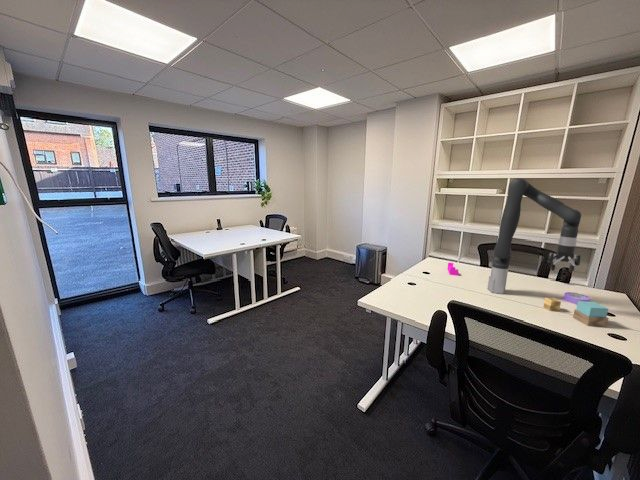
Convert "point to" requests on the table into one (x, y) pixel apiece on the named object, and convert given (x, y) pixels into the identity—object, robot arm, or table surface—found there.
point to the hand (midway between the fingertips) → (561, 271)
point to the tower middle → (592, 309)
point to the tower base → (590, 319)
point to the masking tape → (575, 297)
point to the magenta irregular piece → (452, 269)
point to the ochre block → (552, 304)
